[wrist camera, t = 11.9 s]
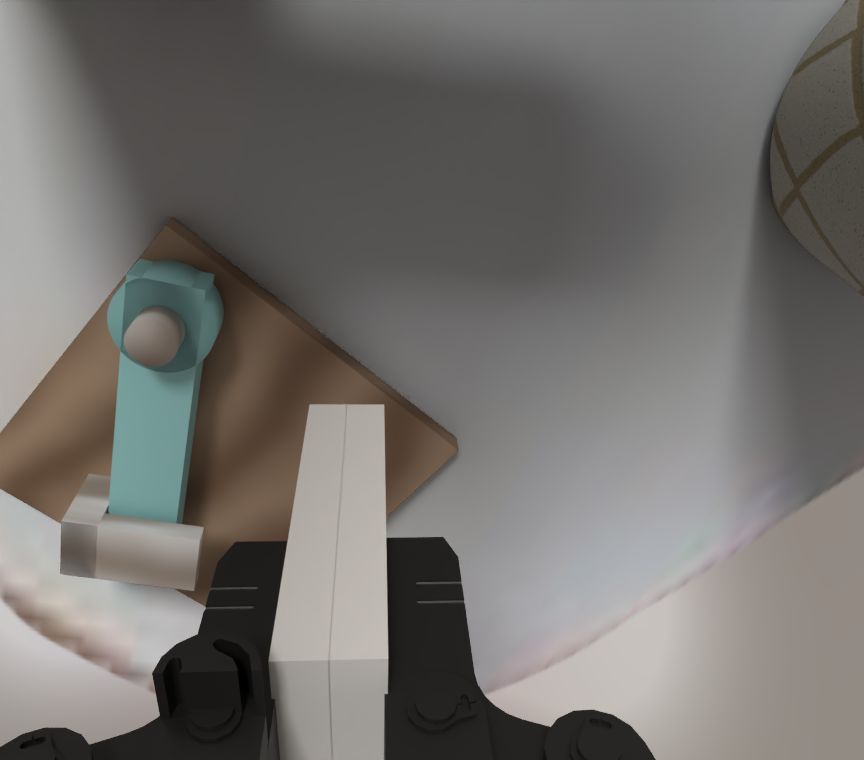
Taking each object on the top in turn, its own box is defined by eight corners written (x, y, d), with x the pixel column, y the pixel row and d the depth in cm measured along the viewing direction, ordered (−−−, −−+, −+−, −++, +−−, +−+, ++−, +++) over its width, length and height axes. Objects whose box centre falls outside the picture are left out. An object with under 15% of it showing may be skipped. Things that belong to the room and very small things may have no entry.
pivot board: (-19, 457, 49) (-75, 524, 43) (172, 217, 43) (138, 256, 37) (260, 620, 57) (246, 696, 51) (456, 437, 50) (467, 499, 44)
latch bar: (124, 250, 41) (110, 265, 39) (229, 272, 42) (221, 288, 40) (103, 536, 50) (90, 562, 48) (191, 549, 51) (182, 575, 49)
